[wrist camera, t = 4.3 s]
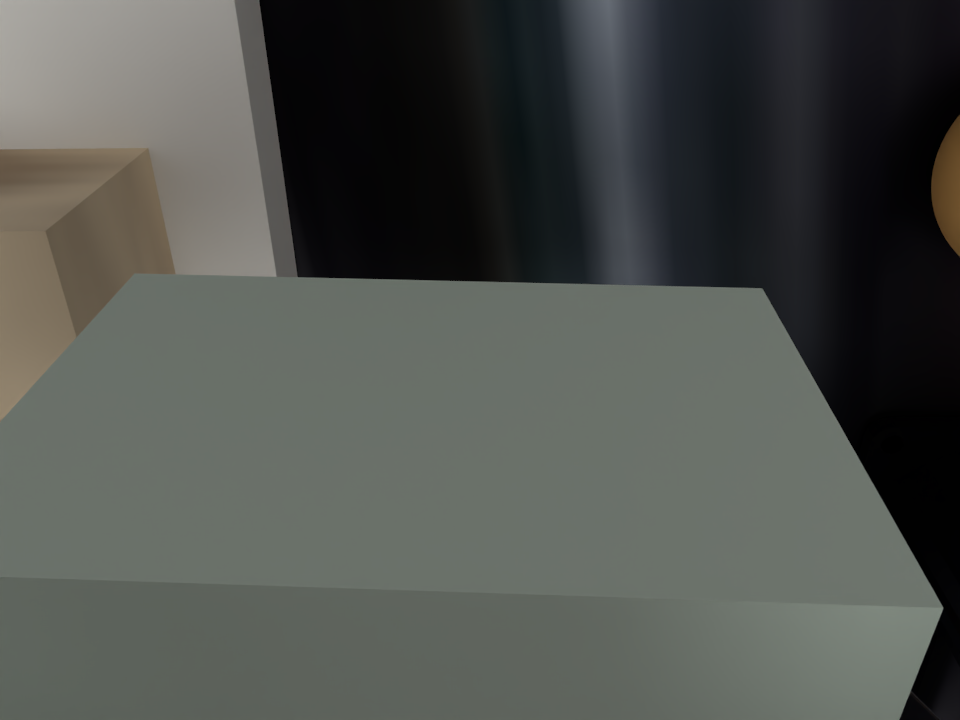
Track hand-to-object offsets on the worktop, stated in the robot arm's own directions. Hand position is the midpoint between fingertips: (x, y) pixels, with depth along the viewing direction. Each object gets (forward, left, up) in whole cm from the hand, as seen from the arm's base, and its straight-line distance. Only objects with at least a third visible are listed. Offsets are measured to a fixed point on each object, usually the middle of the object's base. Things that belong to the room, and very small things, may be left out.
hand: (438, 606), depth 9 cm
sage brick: (0, 0, -1) cm, 1 cm away
